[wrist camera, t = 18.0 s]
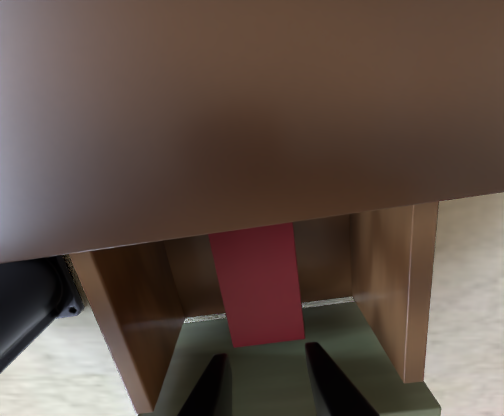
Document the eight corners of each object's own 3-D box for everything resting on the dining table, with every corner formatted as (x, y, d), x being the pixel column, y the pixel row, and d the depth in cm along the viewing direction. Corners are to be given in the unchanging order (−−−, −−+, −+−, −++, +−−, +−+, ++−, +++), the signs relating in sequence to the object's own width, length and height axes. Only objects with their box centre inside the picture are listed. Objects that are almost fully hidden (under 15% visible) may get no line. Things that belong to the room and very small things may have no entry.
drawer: (369, 366, 19) (431, 493, 12) (191, 387, 19) (162, 519, 13) (367, 122, 13) (477, 120, 7) (121, 160, 14) (10, 191, 7)
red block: (294, 297, 15) (305, 339, 12) (236, 304, 16) (233, 348, 13) (282, 195, 13) (292, 216, 10) (216, 205, 14) (206, 228, 11)
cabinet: (371, 153, 15) (521, 190, 7) (128, 190, 15) (-10, 265, 7) (370, -175, 11) (786, -1205, 2) (35, -108, 11) (-562, -754, 3)
